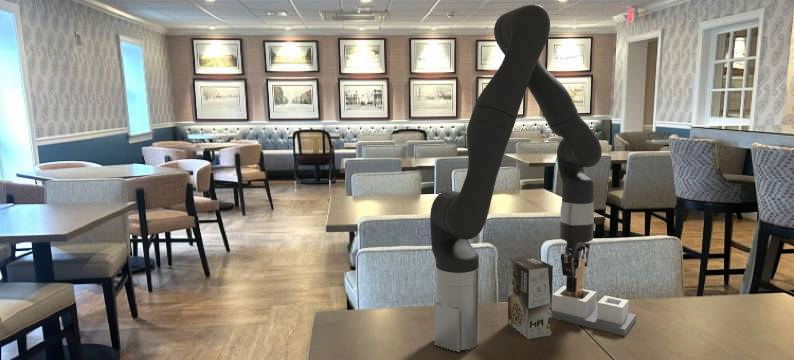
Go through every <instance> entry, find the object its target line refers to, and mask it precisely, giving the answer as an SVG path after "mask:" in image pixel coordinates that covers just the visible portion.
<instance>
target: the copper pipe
mask: <svg viewBox="0 0 794 360" xmlns="http://www.w3.org/2000/svg"><path fill="white" fill-rule="evenodd" d="M584 260H585V258H583V257H582V258H581V265H580V268H578V272H577V290H576V292H575V293H573V292H568V291H567V290H566V296H570V297H574V298H579V299H583V289H585V288H584V287H585V282H584V281H585V279H584V278H585V271H584ZM573 263H574V264H577V262H576V263H575V262H573ZM569 271H570V269H569ZM565 277H566V278H565V279H566V282H565V283H566V284H565V285H567V276H565Z"/></svg>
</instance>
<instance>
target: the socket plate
mask: <svg viewBox="0 0 794 360" xmlns="http://www.w3.org/2000/svg"><path fill="white" fill-rule="evenodd" d="M597 294H598V293H597V291H594V290H590V289H586V288H583V299H579V298H574V297H570V296H566V284H564V285H562V287H559V289H557V291H555V292H553V293H552V319H555V320H558V321H559V320H560V321H562V322H563V321H564V322H567V323H570V324H575V325H579V326H582V327H586V328H591V329H596V330H599V331H602V332H607V333H611V334H614V335H619V336H623V337H625V336H626V335H627V334H628V332H629V331H630V330H631V328H632V327H634V325H635V323H636V322H637V314H634V313H632V312H631V313H630V312H629V301H630V300H629V299H624V298H619V297H614V296H609V295H604V296H603V297H602V298H600V300H599V301H598V302H597Z"/></svg>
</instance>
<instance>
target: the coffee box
mask: <svg viewBox="0 0 794 360" xmlns="http://www.w3.org/2000/svg"><path fill="white" fill-rule="evenodd" d="M553 271H554V265H552V264H549V263H547V262H545V261H544V260H541V259H538V258H536V257H534V256H532V255H525V256H519V257H515V258H508V259H507V324H508V323H509V324H511V325H512V326H513V327H515V328H516V329H517V330H518V331H519V332H520V334H521V335H522V334H523V335H522V336H524V337H525V338H526V339H527V340H531V339H537V338H542V337H549V336H551V335H552V320H553V318H552V295H553V279H554V277H553V275H554V273H553ZM509 324H508V325H509ZM512 326H511V327H512ZM513 327H512V328H513ZM516 329H515V330H516ZM517 330H516V331H517ZM518 331H517V332H518ZM519 332H518V333H519Z"/></svg>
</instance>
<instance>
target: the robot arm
mask: <svg viewBox="0 0 794 360" xmlns="http://www.w3.org/2000/svg"><path fill="white" fill-rule="evenodd" d="M550 32H551V19H550V15H549V13H548V11H547V10H546V9H545V7H544V6H542V5H540V4H536V3H534V4H533V3H531V4H526V5H523V6H520V7H518V8H514V9H512V10H510V11H506V12H505V13H503V14H501V15H500V16H499V17H498V18H497V20H496V21H495V23H494V28H493V35H494V39H495V43H496V44H497V46H498V48H499V49H500V50H501V52H502V53H503V54H504V58H503V60H502V62H501V64H500V66H499V67H498V69H497V70H496V72H495V74H494V75H493V76H492V77H491V79H489V82H488V83H487V84H486V85H485V86H484V88H483V90H482V91H481V93H480V94H479V95H478V98H477V99H476V101H475V104H474V107H473V110H472V112H471V114H470V115H471V116H470V118H469V122H468V125H467V128H466V129H467V130H466V146H467V147H466V149H467V158H468V159H467V160H468V162H467V164H468V165H467V170H466V175H465V179H464V181H463V184H462V187H461V189H460V191H455V190H446V191H443V192H440V193H439V194H438V195H436V197H435V198H434V200H433V202H432V204H431V208H430V214H429V215H430V217H429V220H430V221H429V222H430V223H429V225H430V242H431V250H432V254H433V256H434V260H435V303H434V304H433V311H434V312H433V314H434V315H433V317H434V318H433V319H434V321H433V322H434V325H433V326H434V329H433V330H434V332H433V333H434V345H435V344H436V345H439V346H442V347H444V348H443V349H445V348H447V349H446V350H448V349H450V350H449V351H451V350H453V351H452V352H454V351H457V352H459V353H461V352H462V351H461V350H465V349H470V348H472V347H474V346H476V345H477V344H478V345H479V343H478V342H480V339H479V337H480V333H479V330H480V329H479V328H480V323H479V316H480V315H479V313H480V312H479V311H480V308H479V306H480V305H479V304H480V302H479V301H480V299H479V298H480V295H479V293H480V291H479V290H480V289H479V288H480V287H479V286H480V285H479V283H480V280H479V279H480V278H479V277H480V273H479V272H480V270H479V269H480V266H479V265H480V262H479V261H480V257H479V253H478V252H477V251H476V250H475V248H474V247H473V246H472V245H471V243H470V241H469V240H472V239H474V238H476V237H477V236H478V235H479V234H480V233H481V232H482V230H483V228H484V227H485V225H486V222H487V219H488V216H489V212H490V208H491V203H492V199H493V194H494V189H495V186H496V183H497V179H498V176H499V175H498V174H499V170H500V168H501V165H502V162H503V159H504V156H505V153H506V149H507V147H508V143H509V140H510V138H511V136H512V132H513V130H514V127H515V124H516V121H517V118H518V114H519V111H520V108H521V105H522V102H523V99H524V98H525V94H526V91H527V89H528V90H529V91H530V93H531V95H532V97H533V98H534V100H535V101H536V104H537V105H538V107H539V109H540V111H541V113H542V115H543V117H544V119H545V122H546V123H547V125H548V127H549V128H550V130H551V132H552V133H554V135H557V136H558V137H561V138H562V139H561V141H560V142H559V144H558V147H557V149H556V161H557V165H558V171H559V177H560V180H561V184H562V188H561V206H560V216H559V217H560V218H559V220H560V223H559V237H560V239H561V240H562V241H565V242H566V246H565V248H564V253H561V255H560V263H561V272H562V273H561V274H562V277H563V276H564V277H566V276H567V285H566V284H565V285H566V290H567V291H568V292H573V293H575V292H576V290H577V272H578V268H580V265H581V258H582V257H583V258H585V260H584V272H585V271H586V268H587V267H588V263H589V254H590V247H591V243H590V242H592V241H593V239H594V223H595V222H594V219H595V218H594V217H595V207H594V188H595V187H594V184H595V183H594V181H593V179H592V178H591V177H589V176H588V175H586V173H585V169H584V168H592V167H594V166H596V165H597V164H598V163H599V162H600V161H601V157H602V152H603V150H602V146H601V143H600V141H599V138H598V137H597V135H596V134H595V133H594V132H593V130H592V129H591V128H590V127H589V125H588V124H587V123H586V122H585V120H583V118H582V117H581V116H580V114H579V112H578V109H577V107H576V105H575V103H574V100H573V98H572V96H571V95H570V93H569V91H568V89H566V87H565V85H563V84H562V82H561V81H559V80H558V79H557V77H555V76H554V75H553V74H552V73H551V71H549V70H548V69H547V68H546V66H545V65H544V64H543V63H542V61H541V60H540V57H541V55H542V53H543V50H544V48H545V46H546V43H547V42H548V38H549V35H550ZM573 262H575V263H576V262H577V264H574V263H573ZM569 269H570V271H569ZM436 345H435V346H436ZM478 345H477V346H478ZM439 346H438V347H439ZM477 346H476V347H477ZM442 347H441V348H442ZM472 349H473V348H472ZM470 350H471V349H470ZM460 351H461V352H460ZM465 351H466V350H465ZM457 352H456V353H457Z"/></svg>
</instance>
